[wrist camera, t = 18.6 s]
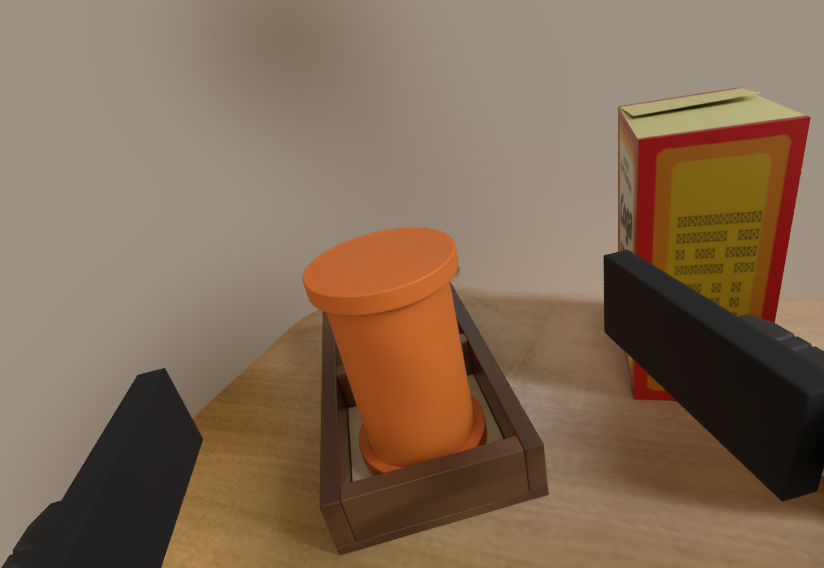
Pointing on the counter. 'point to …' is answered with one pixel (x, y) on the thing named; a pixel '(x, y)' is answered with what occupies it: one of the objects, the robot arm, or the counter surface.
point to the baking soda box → (710, 198)
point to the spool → (399, 344)
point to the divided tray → (431, 480)
